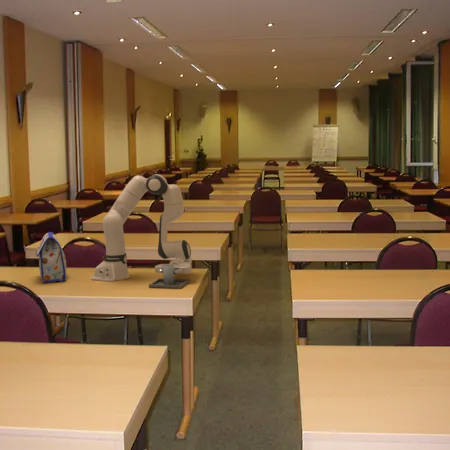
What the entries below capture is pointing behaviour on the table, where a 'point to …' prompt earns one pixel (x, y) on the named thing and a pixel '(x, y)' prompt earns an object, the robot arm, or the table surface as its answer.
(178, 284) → the tray
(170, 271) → the grey upright cylinder
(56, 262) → the lunch bag
